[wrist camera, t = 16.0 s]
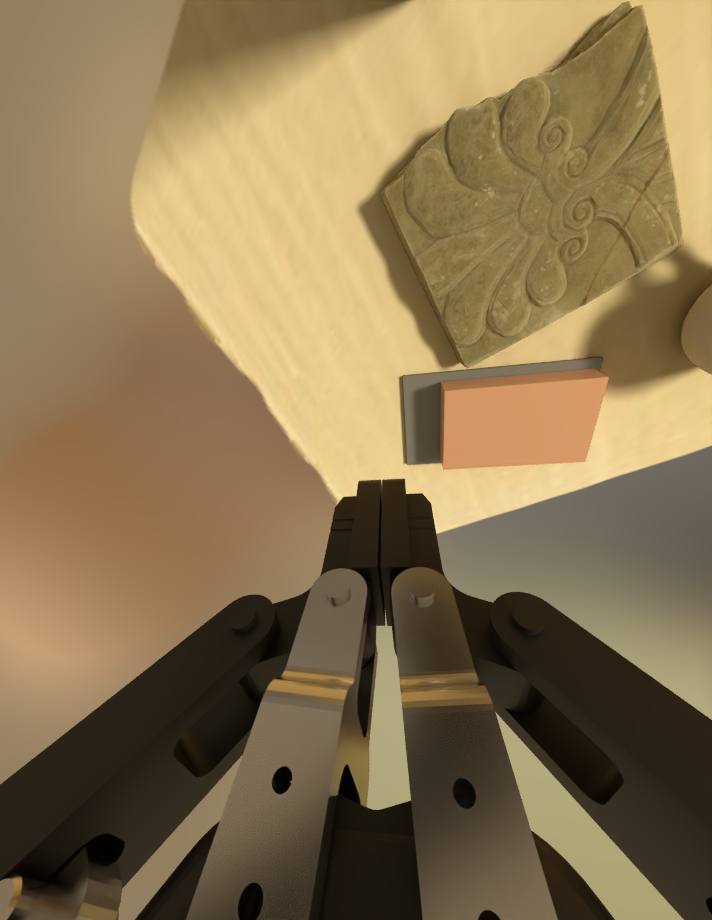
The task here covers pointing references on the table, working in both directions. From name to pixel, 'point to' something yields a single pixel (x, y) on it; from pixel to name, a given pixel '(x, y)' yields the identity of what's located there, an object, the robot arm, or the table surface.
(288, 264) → the table surface
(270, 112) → the table surface
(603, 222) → the decorative tile
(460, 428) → the terracotta tile
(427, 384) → the rubber mat
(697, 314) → the teacup
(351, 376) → the table surface
